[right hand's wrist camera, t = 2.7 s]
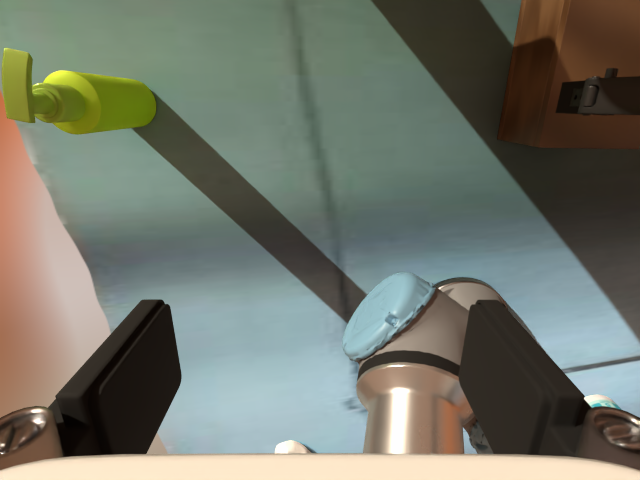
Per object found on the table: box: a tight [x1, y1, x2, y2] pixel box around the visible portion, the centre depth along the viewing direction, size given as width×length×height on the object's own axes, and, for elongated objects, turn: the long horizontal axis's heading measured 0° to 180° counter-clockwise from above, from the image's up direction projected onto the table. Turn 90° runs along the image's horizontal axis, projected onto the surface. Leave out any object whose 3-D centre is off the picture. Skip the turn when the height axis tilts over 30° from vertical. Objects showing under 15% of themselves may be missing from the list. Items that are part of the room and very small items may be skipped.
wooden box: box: [497, 0, 640, 149], centre depth 41 cm, size 22×11×10 cm, turn 179°
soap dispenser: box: [2, 48, 156, 134], centre depth 39 cm, size 6×7×20 cm
